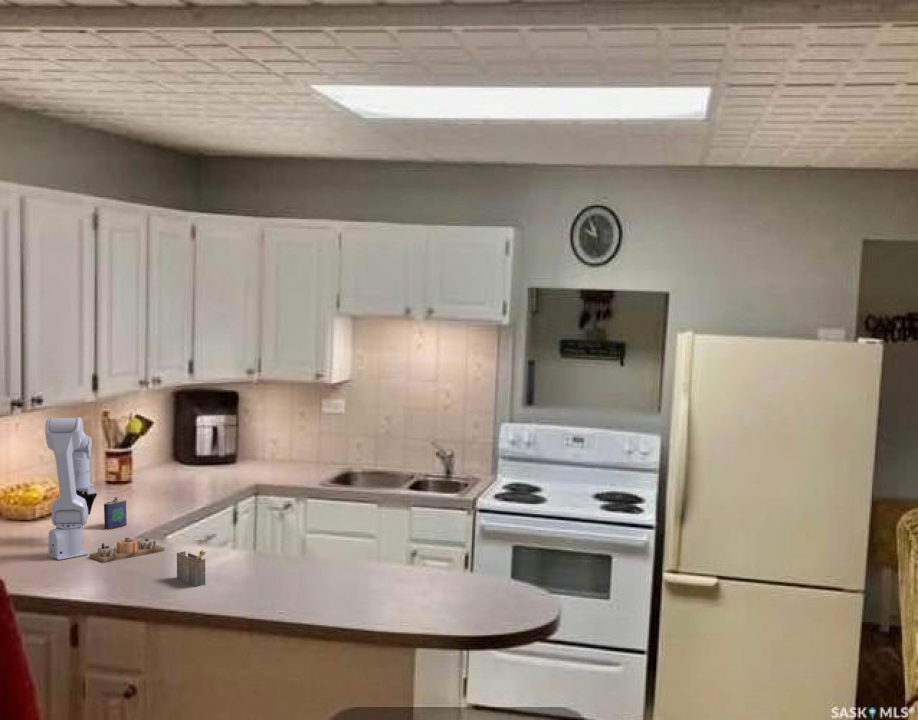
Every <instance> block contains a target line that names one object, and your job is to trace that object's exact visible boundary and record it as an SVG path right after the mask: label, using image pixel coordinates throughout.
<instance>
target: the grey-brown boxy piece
mask: <svg viewBox="0 0 918 720" xmlns="http://www.w3.org/2000/svg"><path fill="white" fill-rule="evenodd" d="M206 553H207V551H204V549H201V550H200V551H199V555H196V554H194V553H191V552H188V553H187V552H186V551H179V552H176V579H178V580H180V581H183V582H185V583H187V584H189V585H192V586H194V587H203V586H206V558H202V557H203V556H205V555H206Z"/></svg>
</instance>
